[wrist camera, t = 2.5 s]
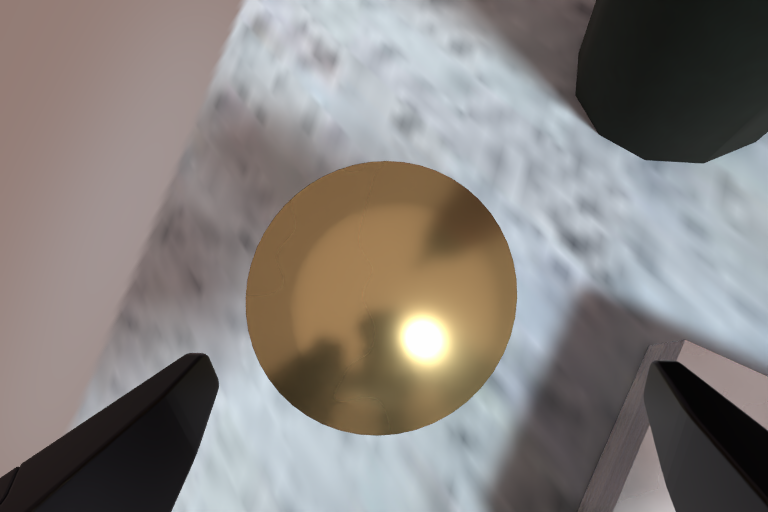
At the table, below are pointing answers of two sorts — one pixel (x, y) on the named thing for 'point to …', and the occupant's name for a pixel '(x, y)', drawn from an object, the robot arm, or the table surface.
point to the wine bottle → (676, 76)
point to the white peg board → (634, 436)
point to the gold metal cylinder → (381, 298)
